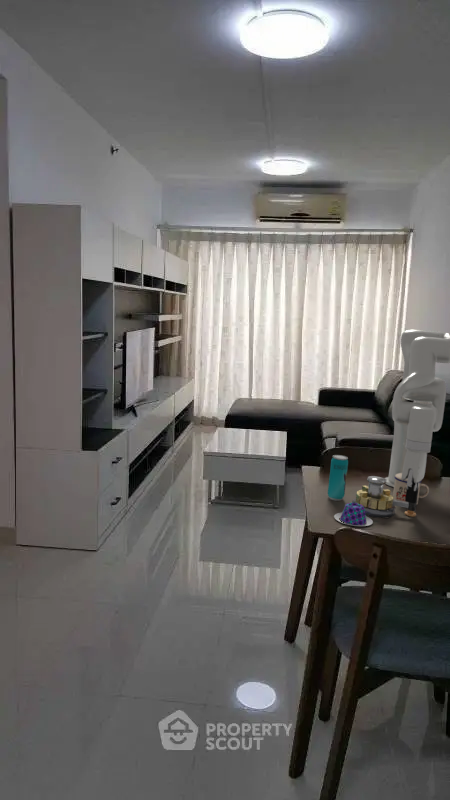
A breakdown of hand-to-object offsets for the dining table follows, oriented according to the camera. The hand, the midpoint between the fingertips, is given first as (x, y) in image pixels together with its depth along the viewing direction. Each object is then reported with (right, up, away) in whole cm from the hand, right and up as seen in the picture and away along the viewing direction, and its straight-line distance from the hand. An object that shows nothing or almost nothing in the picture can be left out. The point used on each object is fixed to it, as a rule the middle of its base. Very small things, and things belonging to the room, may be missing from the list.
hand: (410, 501), depth 195 cm
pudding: (-19, -6, -3) cm, 20 cm away
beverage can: (-21, -2, +17) cm, 27 cm away
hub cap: (-10, -4, +8) cm, 14 cm away
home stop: (+2, -5, +7) cm, 9 cm away
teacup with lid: (+5, -4, +20) cm, 21 cm away
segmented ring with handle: (-6, -2, +7) cm, 10 cm away
